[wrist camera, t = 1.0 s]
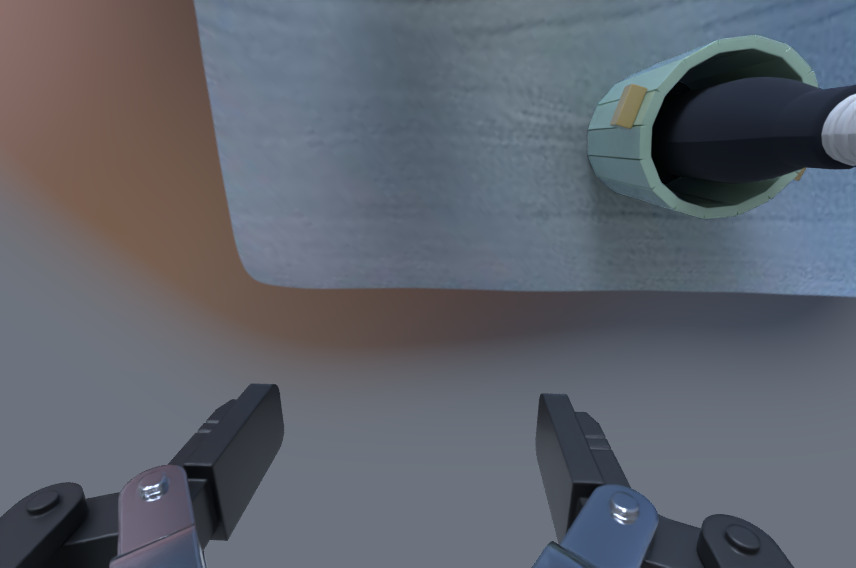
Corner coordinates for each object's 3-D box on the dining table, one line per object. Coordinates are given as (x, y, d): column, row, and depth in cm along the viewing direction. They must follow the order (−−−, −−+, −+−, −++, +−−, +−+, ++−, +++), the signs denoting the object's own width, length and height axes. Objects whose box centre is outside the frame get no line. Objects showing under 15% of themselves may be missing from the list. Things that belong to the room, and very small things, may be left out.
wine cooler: (604, 48, 39) (669, 6, 27) (749, 93, 39) (876, 71, 28) (557, 174, 43) (596, 186, 31) (690, 215, 43) (779, 242, 31)
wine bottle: (685, 163, 42) (1183, 208, 13) (617, 176, 42) (947, 243, 14) (684, 92, 40) (1263, -35, 11) (612, 106, 40) (986, 21, 12)
